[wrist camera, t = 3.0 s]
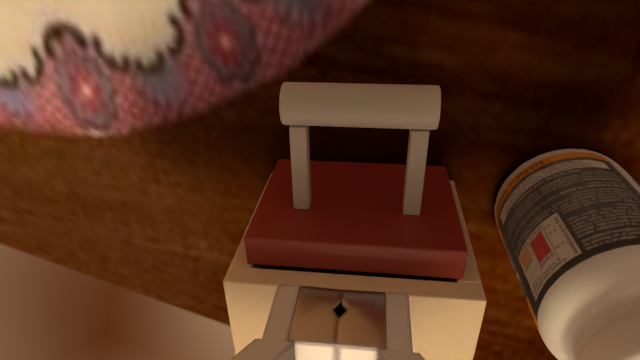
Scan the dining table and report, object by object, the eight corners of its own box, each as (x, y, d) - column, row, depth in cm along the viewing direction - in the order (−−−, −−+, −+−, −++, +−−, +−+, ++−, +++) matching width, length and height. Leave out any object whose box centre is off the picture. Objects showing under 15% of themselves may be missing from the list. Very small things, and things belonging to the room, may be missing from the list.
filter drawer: (270, 53, 18) (225, 105, 13) (462, 56, 17) (495, 113, 12) (288, 296, 24) (263, 393, 19) (426, 307, 23) (437, 411, 18)
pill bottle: (470, 227, 22) (527, 427, 13) (532, 125, 19) (658, 297, 10) (578, 262, 22) (703, 480, 13) (656, 166, 19) (881, 368, 10)
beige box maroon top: (271, 171, 21) (221, 281, 15) (454, 179, 20) (487, 301, 14) (283, 312, 26) (249, 442, 20) (431, 325, 25) (448, 465, 19)
